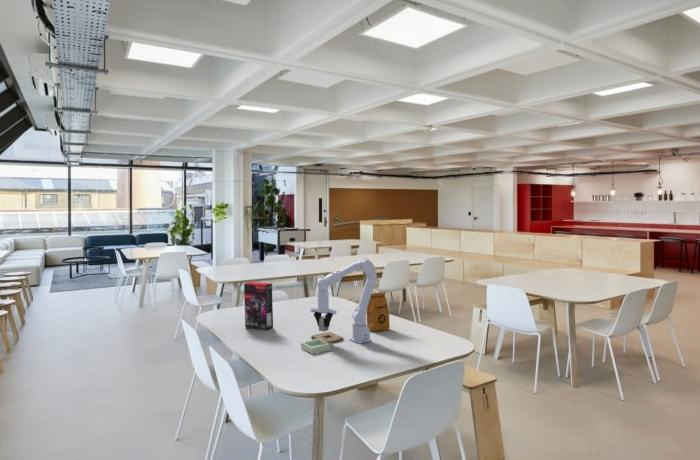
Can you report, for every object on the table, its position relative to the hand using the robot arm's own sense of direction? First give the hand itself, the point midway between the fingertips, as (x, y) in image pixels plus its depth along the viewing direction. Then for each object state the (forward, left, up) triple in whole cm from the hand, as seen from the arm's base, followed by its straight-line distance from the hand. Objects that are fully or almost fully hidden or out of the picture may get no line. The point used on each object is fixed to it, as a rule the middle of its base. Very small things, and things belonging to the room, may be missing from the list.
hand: (323, 326), depth 230 cm
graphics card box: (+47, +17, -9) cm, 51 cm away
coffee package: (0, -37, -9) cm, 38 cm away
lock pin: (0, 0, -2) cm, 2 cm away
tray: (-7, +9, -8) cm, 14 cm away
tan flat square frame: (+3, -4, -8) cm, 10 cm away
